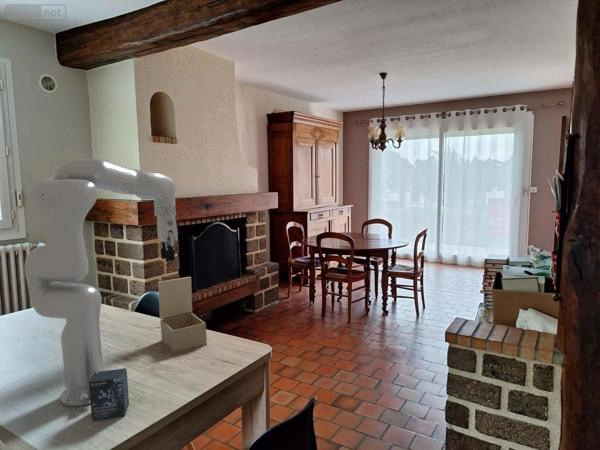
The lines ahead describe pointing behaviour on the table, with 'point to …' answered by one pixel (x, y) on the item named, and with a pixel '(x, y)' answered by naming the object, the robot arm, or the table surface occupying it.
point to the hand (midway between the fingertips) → (168, 259)
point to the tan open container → (183, 332)
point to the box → (109, 394)
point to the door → (175, 297)
